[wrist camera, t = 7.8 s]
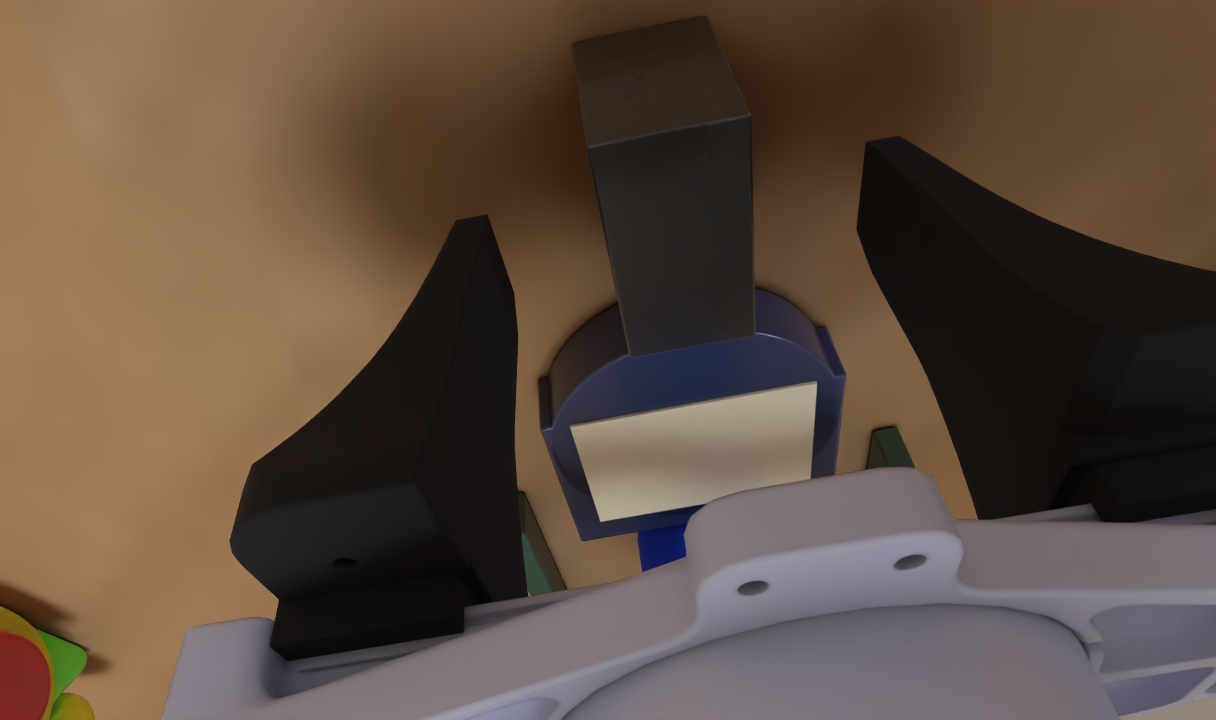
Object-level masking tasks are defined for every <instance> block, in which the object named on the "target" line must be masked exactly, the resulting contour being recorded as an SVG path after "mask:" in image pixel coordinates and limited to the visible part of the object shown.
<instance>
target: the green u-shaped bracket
mask: <svg viewBox="0 0 1216 720" xmlns="http://www.w3.org/2000/svg"><path fill="white" fill-rule="evenodd" d="M879 467H909V468H913V469H914V468H915V466H914V464H913V462H912V459H911V457H910V455H909V453H908V451H907V448H906V446H905V444H904V442H903V440H902V437H901V435H900V433H899V431H898V429H897V428H895V427H894V428H889V429H883V430H877V431H874V432H873V437H872V443H871V449H870V455H869V461H868V467H867V469H873V468H879ZM518 500H519V512H520V523H521V534H522V544H523V554H524V564H525V574H526V583H527V589H528V591H529V593H530V595H531V596H535V595H541V594H547V593H553V592H559V591H565V590H566V587H565V585H564V583H563V581H562V578H561V576H560V574H559V572H558V569H557V567H556V565H555V563H554V560H553V558H552V556H551V554H550V551H549V549H548V547H547V544H546V542H545V540H544V538H543V535H542V533H541V531H540V529H539V526H538V524H537V522H536V520H535V517H534V515H533V513H532V511H531V508H530V506H529V504H528V502H527V499H526V497H525V495H524V493H518Z"/></svg>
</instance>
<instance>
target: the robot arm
mask: <svg viewBox="0 0 1216 720" xmlns="http://www.w3.org/2000/svg"><path fill="white" fill-rule="evenodd" d="M857 232H858V235H859V238H860V241H861V244H862V247H863V250H864V253H865V255H866V258H867V261H868V263H869V266H870V269H871V271H872V273H873V275H874V277H875V279H876V281H877V283H878V285H879V287H880V289H881V291H882V292H883V294H884V296H885V298H886V300H887V302H888V304H889V305H890V307H891V309H892V311H893V313H894V314H895V316H896V318H897V320H898V322H899V324H900V325H901V327H902V329H903V331H904V333H905V334H906V336H907V338H908V340H909V342H910V344H911V345H912V347H913V349H914V351H915V353H916V355H917V356H918V358H919V360H920V362H921V364H922V367H923V369H924V371H925V373H926V375H927V377H928V380H929V382H930V385H931V387H932V390H933V392H934V395H935V397H936V400H937V402H938V405H939V407H940V410H941V412H942V415H943V418H944V420H945V423H946V426H947V428H948V431H949V434H950V437H951V439H952V442H953V445H954V447H955V450H956V453H957V456H958V459H959V462H960V465H961V468H962V471H963V474H964V476H965V479H966V482H967V485H968V488H969V491H970V494H971V497H972V500H973V503H974V507H975V510H976V513H977V517H978V520H970V519H952V517H951V515H950V513H949V511H948V509H947V507H946V505H945V502H944V500H943V498H942V496H941V494H940V492H939V489H938V487H937V485H936V483H935V481H934V479H933V477H931V476H929V475H926V474H924V473H922V472H920V471H917V470H915V469H913V468H909V467H879V468H873V469H867V470H861V471H855V472H849V473H844V474H838V475H832V476H826V477H820V478H814V479H808V480H802V481H797V482H791V483H785V484H779V485H773V486H767V487H761V488H755V489H749V490H744V491H739V492H736V493H733V494H730V495H726V496H723V497H720V498H717V499H714V500H712V501H710V502H709V503H708V504H706V505H705V506H704V507H702V508H701V509H700V510H698V511H697V512H696V513H694V514H693V515H692V516H691V517H690V518H689V521H688V524H687V527H686V530H685V533H684V540H685V546H686V557H684V558H681V559H679V560H676V561H673V562H670V563H667V564H664V565H662V566H659V567H656V568H653V569H650V570H647V571H644V572H642V573H639V574H636V575H633V576H630V577H627V578H625V579H622V580H619V581H616V582H613V583H607V584H601V585H595V586H589V587H583V588H577V589H571V590H565V591H559V592H553V593H547V594H541V595H535V596H529V597H528V591H527V583H526V574H525V564H524V554H523V544H522V534H521V523H520V512H519V500H518V488H517V474H516V460H515V405H516V381H517V355H518V330H517V318H516V308H515V298H514V291H513V288H512V285H511V282H510V279H509V277H508V274H507V271H506V268H505V265H504V262H503V259H502V256H501V253H500V250H499V247H498V244H497V241H496V238H495V235H494V232H493V229H492V226H491V223H490V220H489V217H488V214H486V215H481V216H475V217H470V218H465V219H460V220H456V222H455V223H454V225H453V226H452V228H451V230H450V232H449V234H448V236H447V238H446V240H445V242H444V244H443V246H442V248H441V250H440V252H439V254H438V256H437V258H436V260H435V262H434V264H433V266H432V268H431V270H430V272H429V273H428V275H427V277H426V279H425V281H424V282H423V284H422V286H421V288H420V290H419V291H418V293H417V295H416V297H415V298H414V300H413V301H412V303H411V305H410V306H409V308H408V309H407V311H406V312H405V314H404V315H403V317H402V319H401V320H400V322H399V323H398V325H397V326H396V328H395V329H394V331H393V332H392V333H391V335H390V336H389V338H388V339H387V340H386V342H385V343H384V344H383V346H382V347H381V348H380V349H379V351H378V352H377V353H376V354H375V356H374V357H373V358H372V359H371V360H370V362H369V363H368V364H367V365H366V366H365V367H364V368H363V369H362V370H361V371H360V372H359V373H358V375H357V376H356V377H355V378H354V379H353V380H352V381H351V382H350V383H349V384H348V385H347V386H346V387H345V388H344V389H343V390H342V391H341V393H340V394H339V395H338V396H336V397H335V398H334V399H333V400H332V401H331V402H330V403H329V404H328V405H327V406H326V407H325V408H324V409H323V410H321V411H320V412H319V413H318V414H317V415H316V416H315V417H313V418H312V419H311V420H310V421H309V422H308V423H306V424H305V425H304V426H303V427H302V428H300V429H299V430H298V431H297V432H296V433H294V434H293V435H292V436H290V437H289V438H288V439H286V440H285V441H284V442H282V443H281V444H280V445H278V446H277V447H276V448H274V449H273V450H272V451H270V452H269V453H268V454H266V455H265V456H264V457H262V458H261V459H259V460H258V461H257V462H255V463H254V464H252V466H251V469H250V472H249V475H248V477H247V480H246V483H245V485H244V488H243V492H242V496H241V499H240V503H239V507H238V511H237V515H236V519H235V522H234V526H233V530H232V534H231V538H230V545H231V550H232V553H233V555H234V556H235V557H236V558H237V560H238V561H239V562H240V564H241V565H242V566H243V567H244V568H245V569H246V570H248V571H249V572H250V573H251V574H252V575H253V576H254V577H255V578H256V579H257V580H258V581H259V582H261V583H262V584H263V585H264V586H265V587H266V588H267V589H268V590H269V591H270V592H271V593H273V594H274V595H275V596H276V597H277V598H278V599H279V603H278V608H277V613H276V618H275V621H273V620H271V619H268V618H262V617H248V618H242V619H236V620H230V621H224V622H218V623H212V624H206V625H200V626H194V627H191V628H190V629H188V630H187V631H186V633H185V636H184V640H183V643H182V647H181V650H180V653H179V657H178V660H177V664H176V667H175V671H174V674H173V678H172V681H171V685H170V688H169V692H168V695H167V699H166V702H165V706H164V709H163V713H162V716H161V720H1120V719H1123V718H1127V717H1131V716H1136V715H1140V714H1144V713H1148V712H1152V711H1156V710H1161V709H1165V708H1169V707H1173V706H1178V705H1182V704H1186V703H1190V702H1195V701H1199V700H1203V699H1207V698H1211V697H1215V696H1216V272H1215V271H1209V270H1205V269H1200V268H1196V267H1192V266H1188V265H1183V264H1179V263H1175V262H1171V261H1167V260H1163V259H1159V258H1155V257H1152V256H1148V255H1145V254H1141V253H1137V252H1134V251H1131V250H1128V249H1125V248H1122V247H1119V246H1115V245H1112V244H1109V243H1106V242H1103V241H1100V240H1097V239H1094V238H1092V237H1089V236H1086V235H1083V234H1081V233H1078V232H1076V231H1073V230H1071V229H1068V228H1066V227H1064V226H1061V225H1059V224H1056V223H1054V222H1052V221H1049V220H1047V219H1045V218H1042V217H1040V216H1038V215H1036V214H1034V213H1032V212H1029V211H1027V210H1025V209H1024V208H1022V207H1020V206H1018V205H1016V204H1014V203H1012V202H1010V201H1008V200H1006V199H1004V198H1002V197H1000V196H998V195H997V194H995V193H993V192H991V191H989V190H988V189H986V188H984V187H982V186H981V185H979V184H977V183H975V182H974V181H972V180H970V179H969V178H967V177H965V176H964V175H962V174H960V173H959V172H957V171H956V170H954V169H952V168H951V167H949V166H947V165H946V164H944V163H943V162H941V161H939V160H938V159H936V158H935V157H933V156H932V155H930V154H928V153H927V152H925V151H924V150H922V149H920V148H919V147H917V146H916V145H914V144H912V143H911V142H909V141H907V140H905V139H904V138H902V137H900V136H895V137H889V138H884V139H879V140H874V141H868V142H866V143H865V153H864V162H863V172H862V181H861V191H860V200H859V210H858V219H857Z"/></svg>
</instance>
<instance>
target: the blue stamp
mask: <svg viewBox="0 0 1216 720" xmlns="http://www.w3.org/2000/svg"><path fill="white" fill-rule="evenodd" d="M571 51H572V57H573V64H574V70H575V77H576V84H577V90H578V97H579V103H580V110H581V116H582V123H583V129H584V136H585V142H586V149H587V154H588V158H589V163H590V168H591V173H592V178H593V183H594V188H595V193H596V198H597V202H598V207H599V212H600V217H601V222H602V227H603V232H604V237H605V242H606V246H607V251H608V256H609V261H610V266H611V271H612V276H613V281H614V286H615V290H616V295H617V300H618V305H615V306H613V307H612V308H610V309H608V310H606V311H605V312H603V313H601V314H600V315H598V316H596V317H595V318H594V319H592V320H591V321H590V322H588V323H587V324H586V325H584V326H583V327H582V328H581V329H580V330H579V331H578V332H577V333H576V334H575V335H574V336H573V337H572V338H570V340H569V341H568V342H567V343H566V345H565V346H564V347H563V348H562V350H561V351H560V353H559V354H558V356H557V358H556V360H555V361H554V363H553V365H552V368H551V370H550V373H549V376H548V378H544V379H540V380H538V398H539V417H540V430H541V433H542V436H543V439H544V441H545V444H546V447H547V449H548V452H549V455H550V457H551V460H552V463H553V465H554V468H555V471H556V473H557V476H558V479H559V482H560V484H561V487H562V490H563V492H564V495H565V498H566V500H567V503H568V506H569V508H570V511H571V514H572V516H573V519H574V522H575V525H576V527H577V530H578V533H579V535H580V538H581V540H582V541H588V540H594V539H600V538H605V537H611V536H617V535H623V534H628V533H634V532H640V531H646V530H652V529H657V528H663V527H669V526H675V525H681V524H686V523H688V521H689V518H690V517H691V516H692V515H693V514H694V513H696V512H697V511H698V510H700V509H701V508H702V507H704V506H705V505H706V504H708V503H709V502H710V501H712V500H714V499H717V498H720V497H723V496H726V495H730V494H733V493H736V492H739V491H744V490H749V489H755V488H761V487H767V486H773V485H779V484H785V483H791V482H797V481H802V480H808V479H814V478H820V477H826V476H832V475H835V470H836V461H837V452H838V443H839V434H840V425H841V416H842V407H843V398H844V389H845V381H846V373H845V370H844V368H843V366H842V363H841V361H840V359H839V356H838V354H837V351H836V349H835V347H834V344H833V342H832V340H831V337H830V335H829V333H828V330H827V328H825V327H822V328H817V329H816V328H815V326H814V325H813V324H812V322H811V321H810V320H809V318H808V317H807V316H805V315H804V314H803V313H802V312H801V311H800V310H799V309H798V308H796V307H795V306H793V305H792V304H790V303H789V302H787V301H786V300H784V299H782V298H780V297H778V296H776V295H773V294H771V293H769V292H766V291H762V290H759V289H756V288H755V264H754V215H753V166H752V117H751V113H750V111H749V108H748V106H747V104H746V102H745V99H744V97H743V95H742V93H741V90H740V88H739V86H738V84H737V82H736V79H735V77H734V75H733V73H732V70H731V68H730V66H729V64H728V61H727V59H726V57H725V55H724V53H723V50H722V48H721V46H720V44H719V41H718V39H717V37H716V35H715V33H714V30H713V28H712V26H711V24H710V21H709V19H708V17H705V16H704V17H700V18H695V19H690V20H685V21H680V22H675V23H670V24H665V25H660V26H655V27H650V28H646V29H641V30H636V31H631V32H626V33H621V34H616V35H611V36H606V37H601V38H596V39H592V40H587V41H582V42H577V43H573V44H571Z"/></svg>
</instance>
